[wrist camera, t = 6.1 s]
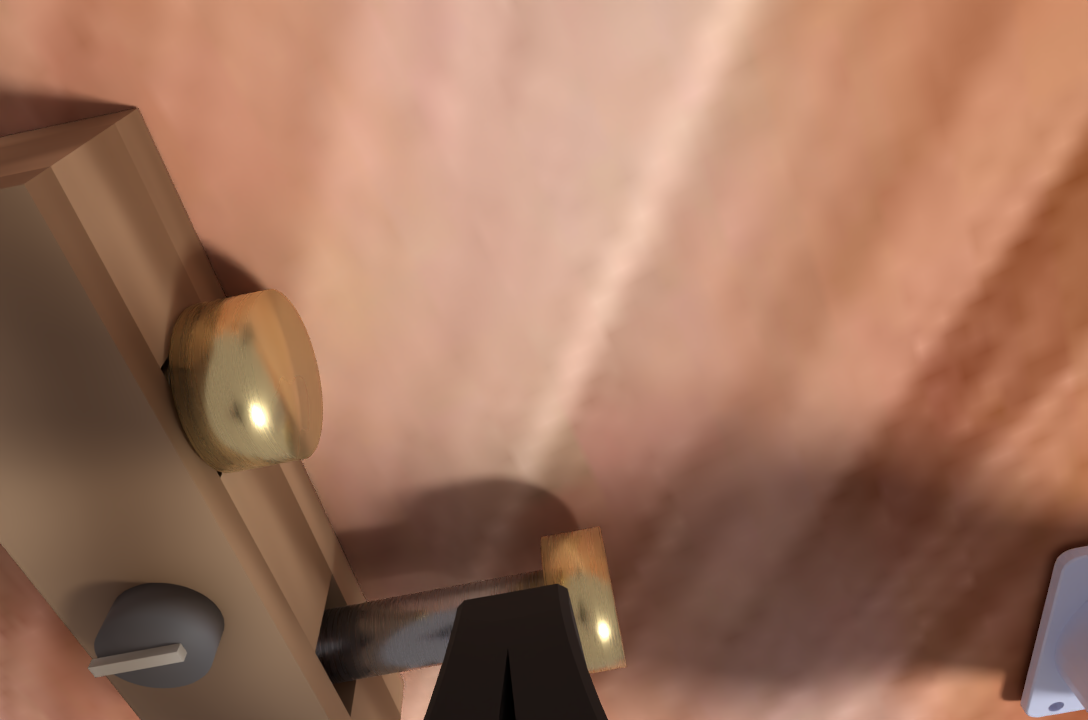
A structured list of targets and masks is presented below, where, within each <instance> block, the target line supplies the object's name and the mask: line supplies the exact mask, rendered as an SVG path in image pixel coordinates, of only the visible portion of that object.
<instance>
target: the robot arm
mask: <svg viewBox="0 0 1088 720" xmlns="http://www.w3.org/2000/svg"><path fill="white" fill-rule="evenodd" d="M1021 707H1022V708H1023V710H1024V711H1025V713H1026V714H1027V715H1028V716H1031V717H1042V716H1048V715H1054V714H1060V713H1065V712H1071V711H1077V710H1083V709H1085V710H1086V711H1087V712H1088V546H1083V547H1078V548H1073V549H1069V550H1067V551H1065V552H1063V553H1062V554H1061V555H1060V556H1059V557H1058V558H1057V560H1056V562H1055V565H1054V569H1053V573H1052V577H1051V581H1050V585H1049V589H1048V593H1047V598H1046V602H1045V606H1044V610H1043V614H1042V618H1041V622H1040V626H1039V630H1038V634H1037V638H1036V642H1035V646H1034V650H1033V654H1032V658H1031V662H1030V666H1029V670H1028V674H1027V678H1026V682H1025V687H1024V691H1023V695H1022V699H1021ZM424 720H608V719H607V716H606V714H605V712H604V710H603V707H602V705H601V703H600V700H599V698H598V695H597V693H596V690H595V688H594V685H593V682H592V680H591V677H590V674H589V671H588V668H587V665H586V661H585V657H584V653H583V649H582V645H581V641H580V637H579V632H578V628H577V624H576V620H575V616H574V612H573V608H572V604H571V600H570V596H569V592H568V588H566V587H564V586H562V585H560V584H552V585H547V586H541V587H535V588H530V589H524V590H519V591H513V592H507V593H502V594H496V595H491V596H485V597H479V598H474V599H468V600H464V601H463V602H462V603H461V604H460V605H459V606H458V608H457V611H456V615H455V620H454V624H453V628H452V631H451V635H450V639H449V642H448V646H447V649H446V653H445V656H444V660H443V663H442V666H441V669H440V672H439V676H438V679H437V682H436V685H435V688H434V691H433V694H432V697H431V700H430V703H429V706H428V709H427V712H426V715H425V717H424Z"/></svg>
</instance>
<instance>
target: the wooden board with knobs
mask: <svg viewBox="0 0 1088 720" xmlns="http://www.w3.org/2000/svg"><path fill="white" fill-rule="evenodd" d="M223 298H226V297H225V295H224V292H223V290H222V288H221V286H220V284H219V282H218V279H217V277H216V275H215V273H214V271H213V269H212V266H211V264H210V262H209V260H208V258H207V256H206V253H205V251H204V249H203V247H202V245H201V243H200V240H199V238H198V236H197V234H196V232H195V230H194V228H193V225H192V223H191V221H190V219H189V217H188V215H187V212H186V210H185V208H184V206H183V204H182V202H181V199H180V197H179V195H178V193H177V191H176V189H175V186H174V184H173V182H172V180H171V178H170V176H169V173H168V171H167V169H166V167H165V165H164V163H163V160H162V158H161V156H160V154H159V152H158V150H157V147H156V145H155V143H154V141H153V139H152V137H151V134H150V132H149V130H148V128H147V126H146V124H145V121H144V119H143V117H142V115H141V113H140V111H139V108H135V109H130V110H126V111H121V112H116V113H111V114H107V115H102V116H97V117H93V118H88V119H83V120H78V121H74V122H69V123H64V124H60V125H55V126H50V127H45V128H41V129H36V130H31V131H27V132H22V133H17V134H13V135H8V136H3V137H0V543H1V545H2V546H3V547H4V548H5V550H6V551H7V552H8V553H9V555H10V556H11V557H12V559H13V560H14V561H15V562H16V564H17V565H18V566H19V567H20V569H21V570H22V571H23V572H24V574H25V575H26V576H27V577H28V579H29V580H30V581H31V582H32V584H33V585H34V586H35V587H36V589H37V590H38V591H39V592H40V594H41V595H42V596H43V597H44V599H45V600H46V601H47V603H48V604H49V605H50V606H51V608H52V609H53V610H54V611H55V613H56V614H57V615H58V616H59V618H60V619H61V620H62V621H63V623H64V624H65V625H66V626H67V628H68V629H69V630H70V631H71V633H72V634H73V635H74V636H75V638H76V639H77V640H78V641H79V643H80V644H81V645H82V647H83V648H84V649H85V650H86V652H87V653H88V654H89V655H90V657H91V658H92V661H91V663H90V665H89V667H88V669H89V670H90V672H91V673H92V674H93V675H94V676H95V678H96V677H101V676H106V677H107V678H108V679H109V680H110V682H111V683H112V684H113V685H114V687H115V688H116V689H117V691H118V692H119V693H120V694H121V696H122V697H123V698H124V699H125V701H126V702H127V703H128V704H129V706H130V707H131V708H132V709H133V711H134V712H135V713H136V714H137V716H138V717H139V718H140V719H141V720H400V719H401V708H402V698H403V688H404V682H403V680H402V678H401V676H400V674H399V672H397V673H391V674H386V675H380V676H375V677H369V678H363V679H358V680H352V681H347V682H341V683H336V684H332V683H331V681H330V679H329V677H328V675H327V673H326V671H325V670H324V668H323V666H322V664H321V662H320V660H319V659H318V657H317V655H316V653H315V650H316V645H317V641H318V636H319V631H320V627H321V622H322V617H323V613H324V610H326V609H332V608H337V607H342V606H348V605H353V604H359V603H364V602H366V600H365V598H364V596H363V593H362V591H361V589H360V587H359V585H358V583H357V580H356V578H355V576H354V574H353V572H352V570H351V567H350V565H349V563H348V561H347V559H346V557H345V554H344V552H343V550H342V548H341V546H340V544H339V541H338V539H337V537H336V535H335V533H334V531H333V528H332V526H331V524H330V522H329V520H328V518H327V515H326V513H325V511H324V509H323V507H322V505H321V502H320V500H319V498H318V496H317V494H316V492H315V489H314V487H313V485H312V483H311V481H310V479H309V476H308V474H307V472H306V470H305V468H304V466H303V463H302V461H301V460H297V461H291V462H286V463H281V464H276V465H271V466H265V467H260V468H255V469H250V470H244V471H239V472H234V473H221V472H218V471H216V470H214V469H213V468H211V467H210V466H209V465H207V464H206V463H205V462H204V461H203V460H202V459H201V457H200V456H199V455H198V453H197V452H196V451H195V449H194V448H193V446H192V444H191V443H190V441H189V439H188V437H187V435H186V433H185V431H184V429H183V426H182V424H181V421H180V419H179V415H178V412H177V409H176V406H175V402H174V398H173V393H172V388H171V387H170V385H169V383H168V381H167V379H166V377H165V376H164V374H163V372H162V370H161V366H162V365H163V363H164V362H165V360H166V359H167V357H168V356H169V351H170V342H171V336H172V332H173V328H174V326H175V323H176V321H177V319H178V317H179V315H180V314H181V313H182V312H183V310H184V309H186V308H187V307H188V306H191V305H193V304H198V303H203V302H208V301H213V300H218V299H223Z"/></svg>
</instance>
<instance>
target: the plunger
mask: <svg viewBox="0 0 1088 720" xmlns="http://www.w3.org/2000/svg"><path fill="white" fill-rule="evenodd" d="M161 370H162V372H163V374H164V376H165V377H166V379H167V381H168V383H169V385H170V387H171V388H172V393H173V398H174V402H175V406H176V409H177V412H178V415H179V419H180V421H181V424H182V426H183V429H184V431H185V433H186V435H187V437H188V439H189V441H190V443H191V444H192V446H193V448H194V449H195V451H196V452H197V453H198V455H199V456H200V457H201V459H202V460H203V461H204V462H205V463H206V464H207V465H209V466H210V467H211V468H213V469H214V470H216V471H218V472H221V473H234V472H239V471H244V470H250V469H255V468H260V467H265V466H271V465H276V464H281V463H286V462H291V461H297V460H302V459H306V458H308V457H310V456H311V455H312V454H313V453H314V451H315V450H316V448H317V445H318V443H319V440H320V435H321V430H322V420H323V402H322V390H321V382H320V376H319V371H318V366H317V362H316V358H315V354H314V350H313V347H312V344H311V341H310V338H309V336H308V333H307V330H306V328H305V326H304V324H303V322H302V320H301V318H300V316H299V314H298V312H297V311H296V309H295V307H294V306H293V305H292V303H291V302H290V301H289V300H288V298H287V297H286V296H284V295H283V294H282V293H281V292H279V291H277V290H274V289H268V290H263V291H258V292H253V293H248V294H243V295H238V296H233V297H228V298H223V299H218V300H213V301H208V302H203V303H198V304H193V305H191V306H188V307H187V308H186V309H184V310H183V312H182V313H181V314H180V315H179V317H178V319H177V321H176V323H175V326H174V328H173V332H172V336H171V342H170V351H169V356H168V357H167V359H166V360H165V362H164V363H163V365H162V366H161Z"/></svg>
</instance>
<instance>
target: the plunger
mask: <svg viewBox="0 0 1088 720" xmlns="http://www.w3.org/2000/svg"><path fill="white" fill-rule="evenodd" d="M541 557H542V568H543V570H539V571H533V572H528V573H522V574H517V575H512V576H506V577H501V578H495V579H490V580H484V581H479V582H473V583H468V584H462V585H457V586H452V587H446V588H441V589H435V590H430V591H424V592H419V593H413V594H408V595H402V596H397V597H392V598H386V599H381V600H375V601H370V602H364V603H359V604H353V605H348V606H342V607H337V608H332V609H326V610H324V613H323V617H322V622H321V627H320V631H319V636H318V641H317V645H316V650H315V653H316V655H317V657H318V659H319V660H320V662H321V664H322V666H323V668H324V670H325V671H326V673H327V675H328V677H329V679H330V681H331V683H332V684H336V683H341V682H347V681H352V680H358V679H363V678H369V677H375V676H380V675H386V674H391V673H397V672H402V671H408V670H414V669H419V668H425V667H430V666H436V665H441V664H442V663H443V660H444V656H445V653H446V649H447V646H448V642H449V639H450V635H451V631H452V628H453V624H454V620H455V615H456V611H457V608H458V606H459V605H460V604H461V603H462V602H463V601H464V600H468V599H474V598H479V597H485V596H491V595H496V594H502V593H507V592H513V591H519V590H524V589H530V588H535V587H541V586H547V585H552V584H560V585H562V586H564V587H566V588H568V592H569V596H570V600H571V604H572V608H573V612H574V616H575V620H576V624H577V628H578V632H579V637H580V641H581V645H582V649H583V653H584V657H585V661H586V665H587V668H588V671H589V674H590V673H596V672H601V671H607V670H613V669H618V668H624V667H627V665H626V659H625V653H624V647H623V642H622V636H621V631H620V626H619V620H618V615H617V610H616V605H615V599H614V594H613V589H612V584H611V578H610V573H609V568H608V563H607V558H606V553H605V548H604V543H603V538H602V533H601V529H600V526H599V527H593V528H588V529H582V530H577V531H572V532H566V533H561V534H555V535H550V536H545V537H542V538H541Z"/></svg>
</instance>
